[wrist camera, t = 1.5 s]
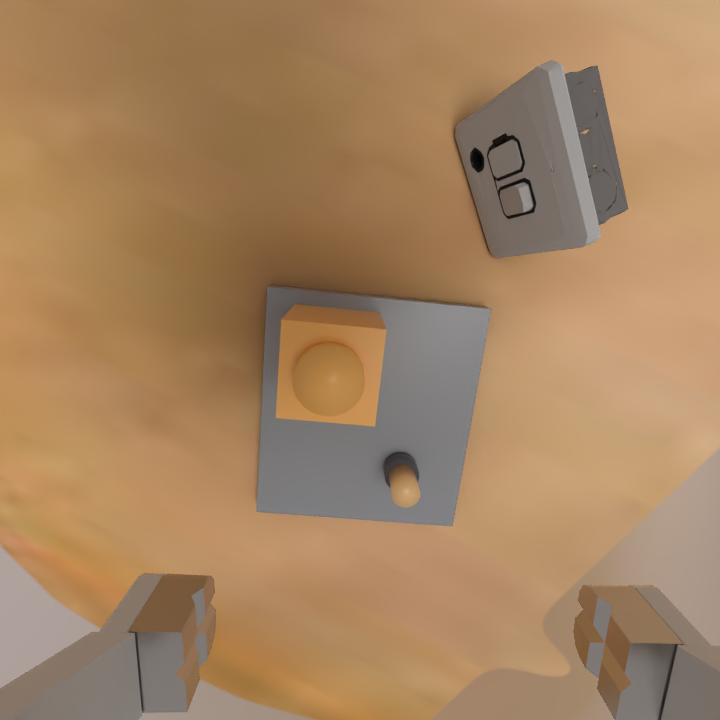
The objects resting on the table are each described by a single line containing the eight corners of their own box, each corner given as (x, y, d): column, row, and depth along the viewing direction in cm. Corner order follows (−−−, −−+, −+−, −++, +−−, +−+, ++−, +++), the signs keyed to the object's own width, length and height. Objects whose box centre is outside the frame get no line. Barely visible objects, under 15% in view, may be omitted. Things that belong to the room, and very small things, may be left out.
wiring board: (270, 284, 32) (255, 293, 27) (484, 306, 33) (511, 318, 28) (260, 501, 37) (245, 544, 32) (448, 515, 38) (464, 560, 32)
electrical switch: (450, 128, 30) (511, 72, 21) (519, 100, 30) (610, 33, 21) (489, 259, 32) (560, 260, 23) (554, 233, 32) (649, 224, 23)
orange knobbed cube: (294, 304, 31) (277, 324, 23) (379, 312, 31) (388, 334, 24) (289, 384, 33) (271, 428, 25) (370, 391, 33) (376, 437, 25)
